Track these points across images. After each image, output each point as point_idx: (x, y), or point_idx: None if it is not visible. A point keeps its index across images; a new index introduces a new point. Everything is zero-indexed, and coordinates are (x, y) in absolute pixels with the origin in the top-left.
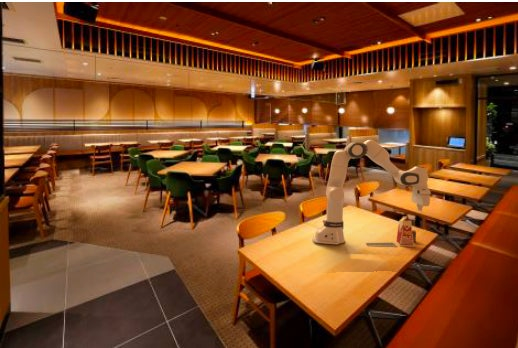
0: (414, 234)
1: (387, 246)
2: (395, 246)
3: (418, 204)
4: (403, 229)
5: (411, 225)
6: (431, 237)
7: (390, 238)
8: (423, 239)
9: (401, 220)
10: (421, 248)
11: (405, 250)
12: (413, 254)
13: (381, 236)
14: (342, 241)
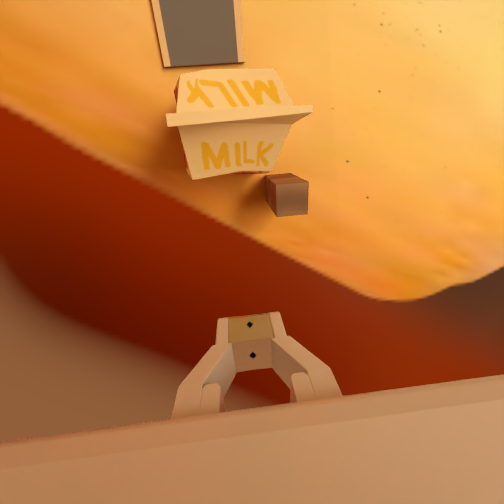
0: (273, 203)
1: None
2: (162, 54)
3: (294, 400)
4: (175, 97)
5: (188, 173)
6: (350, 284)
7: (338, 76)
8: (322, 248)
9: (229, 74)
10: (178, 199)
11: (112, 102)
12: (55, 127)
13: (385, 17)
14: None
